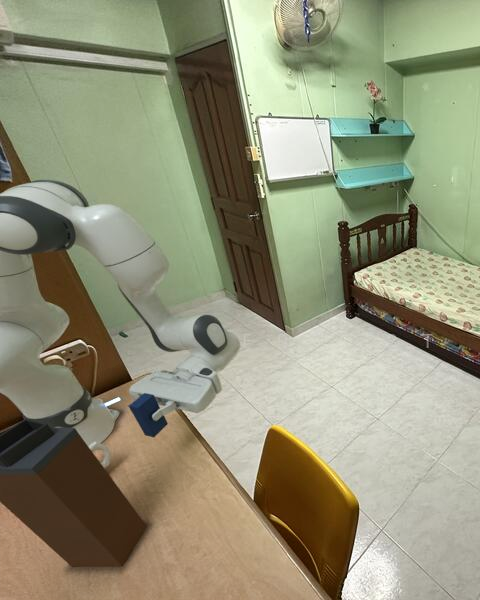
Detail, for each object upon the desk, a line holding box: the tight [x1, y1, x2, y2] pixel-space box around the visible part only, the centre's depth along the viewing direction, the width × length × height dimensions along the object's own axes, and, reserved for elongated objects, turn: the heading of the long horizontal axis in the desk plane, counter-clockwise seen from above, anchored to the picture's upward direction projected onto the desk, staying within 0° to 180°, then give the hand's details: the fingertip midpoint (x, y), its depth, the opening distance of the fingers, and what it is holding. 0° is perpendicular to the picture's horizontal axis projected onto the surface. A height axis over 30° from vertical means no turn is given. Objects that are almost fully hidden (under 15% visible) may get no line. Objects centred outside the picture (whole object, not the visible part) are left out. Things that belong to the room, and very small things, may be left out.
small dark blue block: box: [128, 393, 169, 438], centre depth 73 cm, size 2×4×10 cm, turn 168°
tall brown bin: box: [0, 418, 148, 568], centre depth 57 cm, size 10×7×35 cm
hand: (145, 416), depth 72 cm, fingers closed on small dark blue block, 2 cm apart
